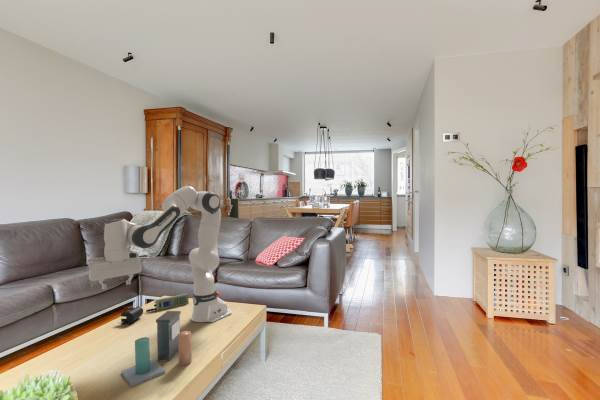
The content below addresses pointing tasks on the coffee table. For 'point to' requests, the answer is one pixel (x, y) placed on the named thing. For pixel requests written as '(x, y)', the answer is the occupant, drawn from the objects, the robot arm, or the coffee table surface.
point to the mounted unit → (168, 335)
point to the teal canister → (142, 355)
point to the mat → (136, 379)
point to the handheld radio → (170, 302)
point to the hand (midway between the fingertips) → (116, 286)
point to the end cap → (131, 315)
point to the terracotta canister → (184, 347)
